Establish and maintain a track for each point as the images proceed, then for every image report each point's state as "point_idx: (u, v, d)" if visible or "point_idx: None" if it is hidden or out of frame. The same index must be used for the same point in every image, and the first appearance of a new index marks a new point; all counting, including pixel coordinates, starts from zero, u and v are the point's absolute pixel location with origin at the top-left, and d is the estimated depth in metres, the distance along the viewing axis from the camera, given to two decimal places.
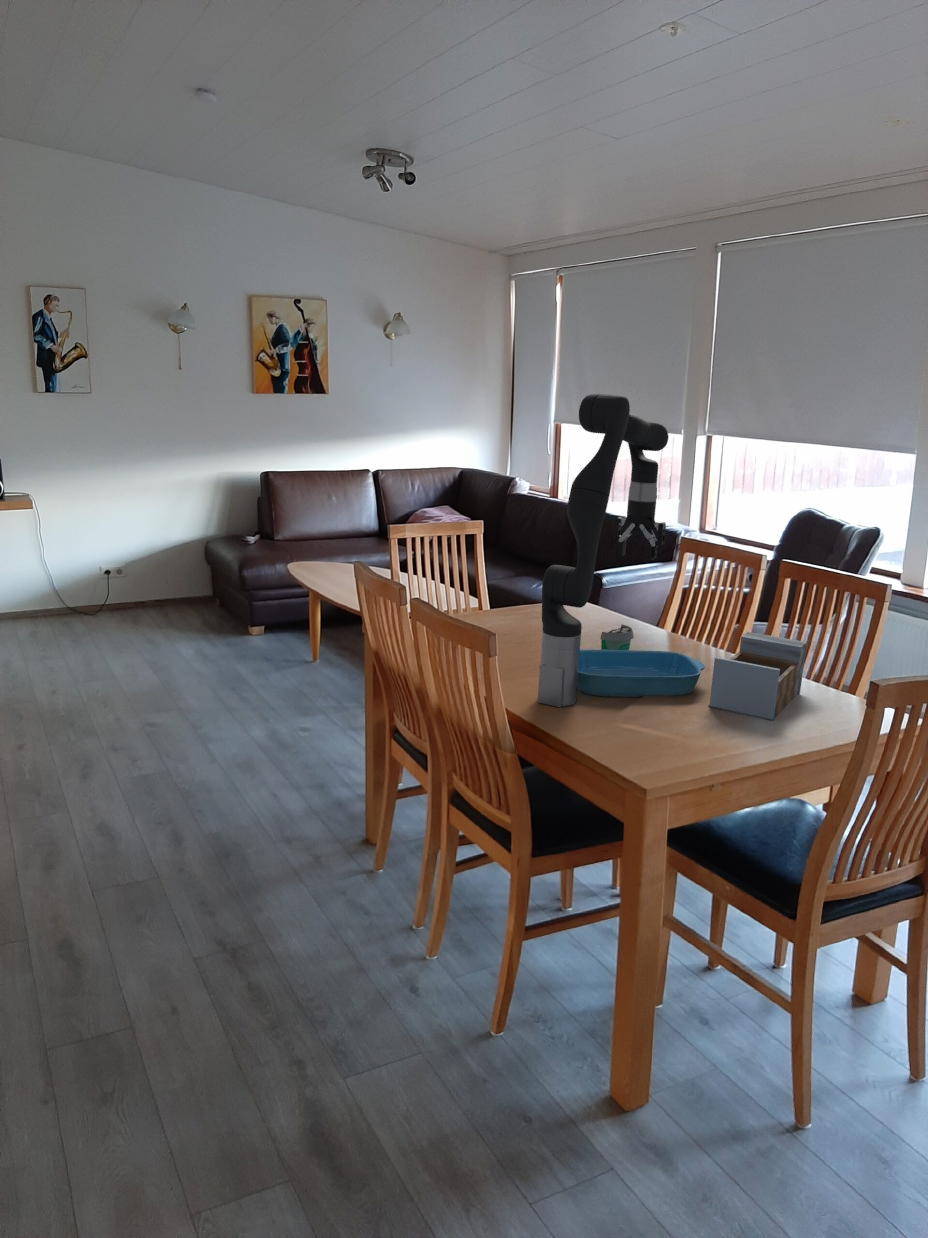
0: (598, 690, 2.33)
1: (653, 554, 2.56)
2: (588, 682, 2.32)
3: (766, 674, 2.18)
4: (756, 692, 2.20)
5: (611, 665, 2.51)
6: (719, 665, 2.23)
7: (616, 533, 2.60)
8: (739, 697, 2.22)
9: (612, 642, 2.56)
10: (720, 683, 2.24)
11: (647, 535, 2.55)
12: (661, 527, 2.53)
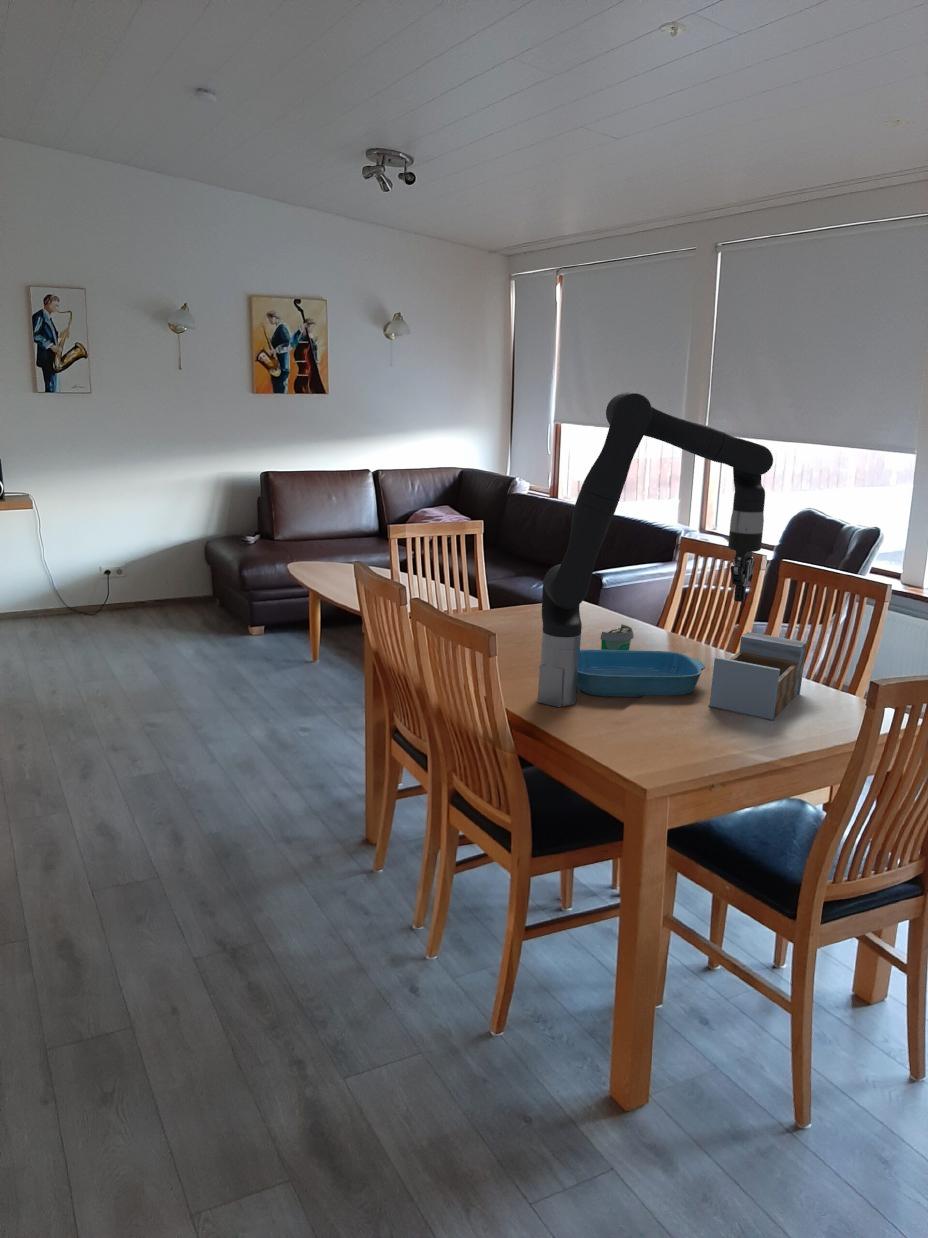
0: (598, 690, 2.33)
1: None
2: (588, 682, 2.32)
3: (766, 674, 2.18)
4: (756, 692, 2.20)
5: (611, 665, 2.51)
6: (719, 665, 2.23)
7: (743, 579, 2.22)
8: (739, 697, 2.22)
9: (612, 642, 2.56)
10: (720, 683, 2.24)
11: (750, 571, 2.25)
12: (753, 565, 2.29)
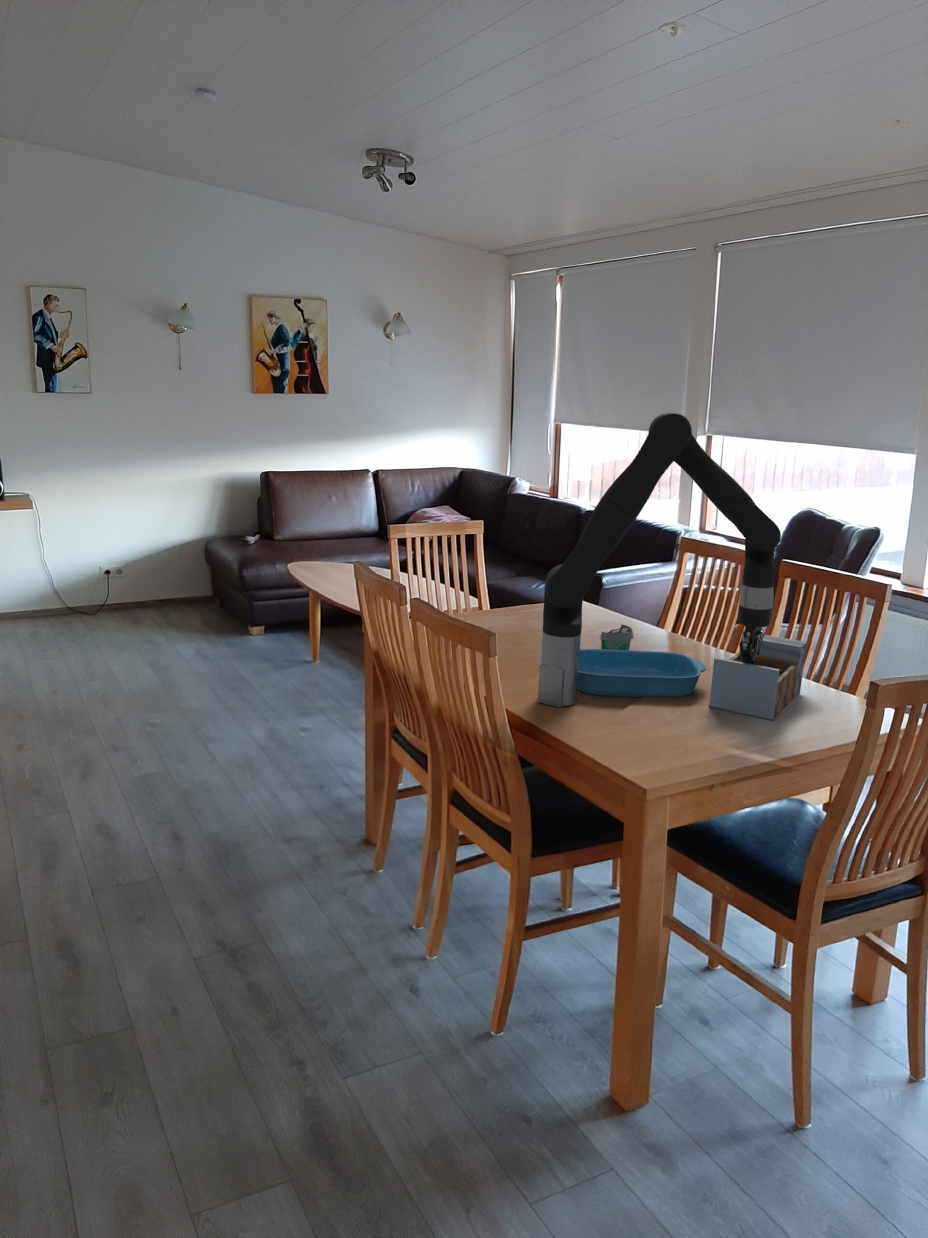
0: (595, 689, 2.33)
1: None
2: (585, 681, 2.33)
3: (765, 674, 2.17)
4: (756, 692, 2.20)
5: (614, 665, 2.51)
6: (719, 665, 2.23)
7: (752, 654, 2.19)
8: (739, 697, 2.22)
9: (612, 642, 2.56)
10: (720, 683, 2.24)
11: (759, 645, 2.22)
12: (762, 637, 2.25)
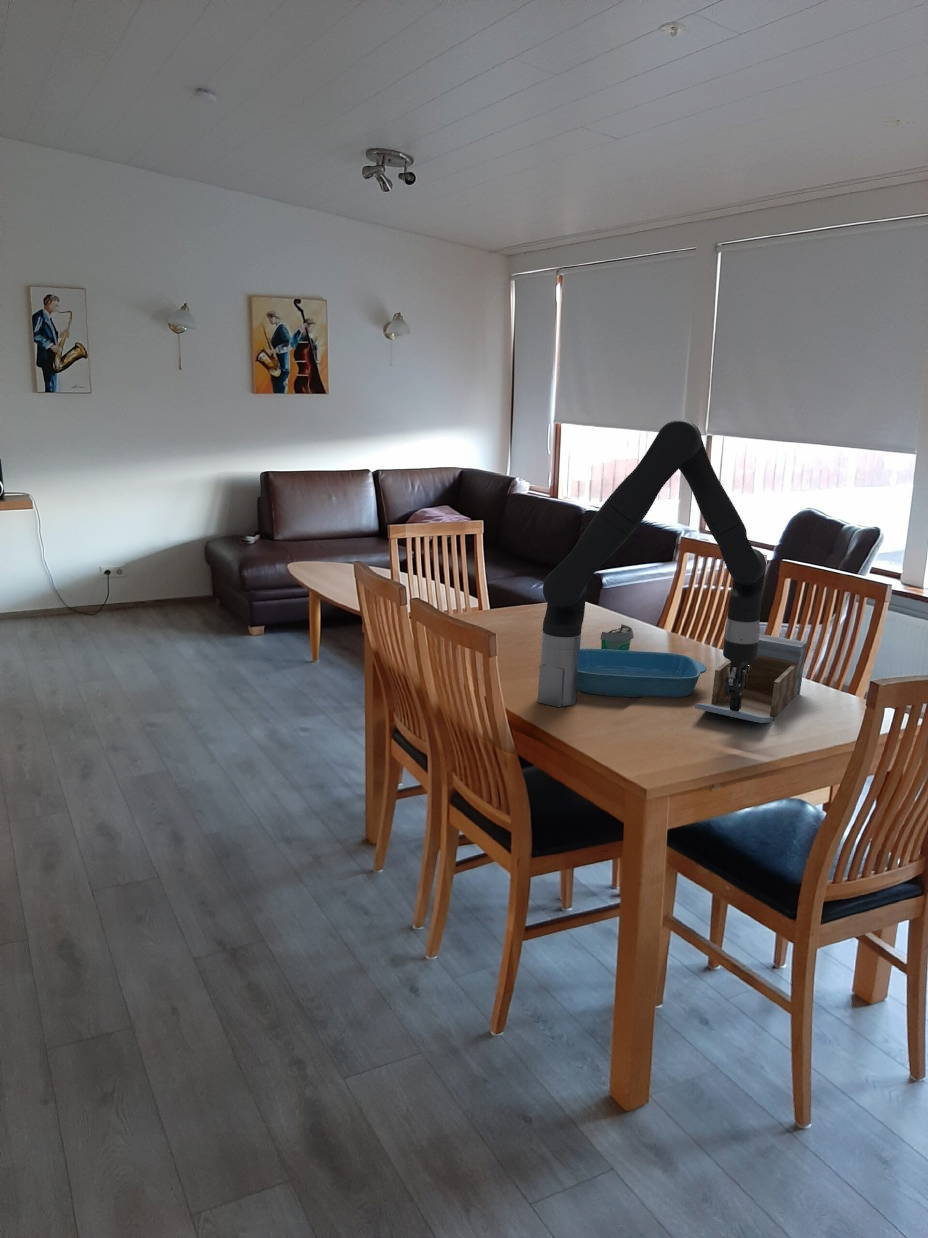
0: (593, 688, 2.34)
1: None
2: (583, 680, 2.34)
3: None
4: None
5: (616, 665, 2.51)
6: None
7: (738, 689, 2.12)
8: None
9: (612, 642, 2.56)
10: None
11: (746, 680, 2.15)
12: (749, 671, 2.18)
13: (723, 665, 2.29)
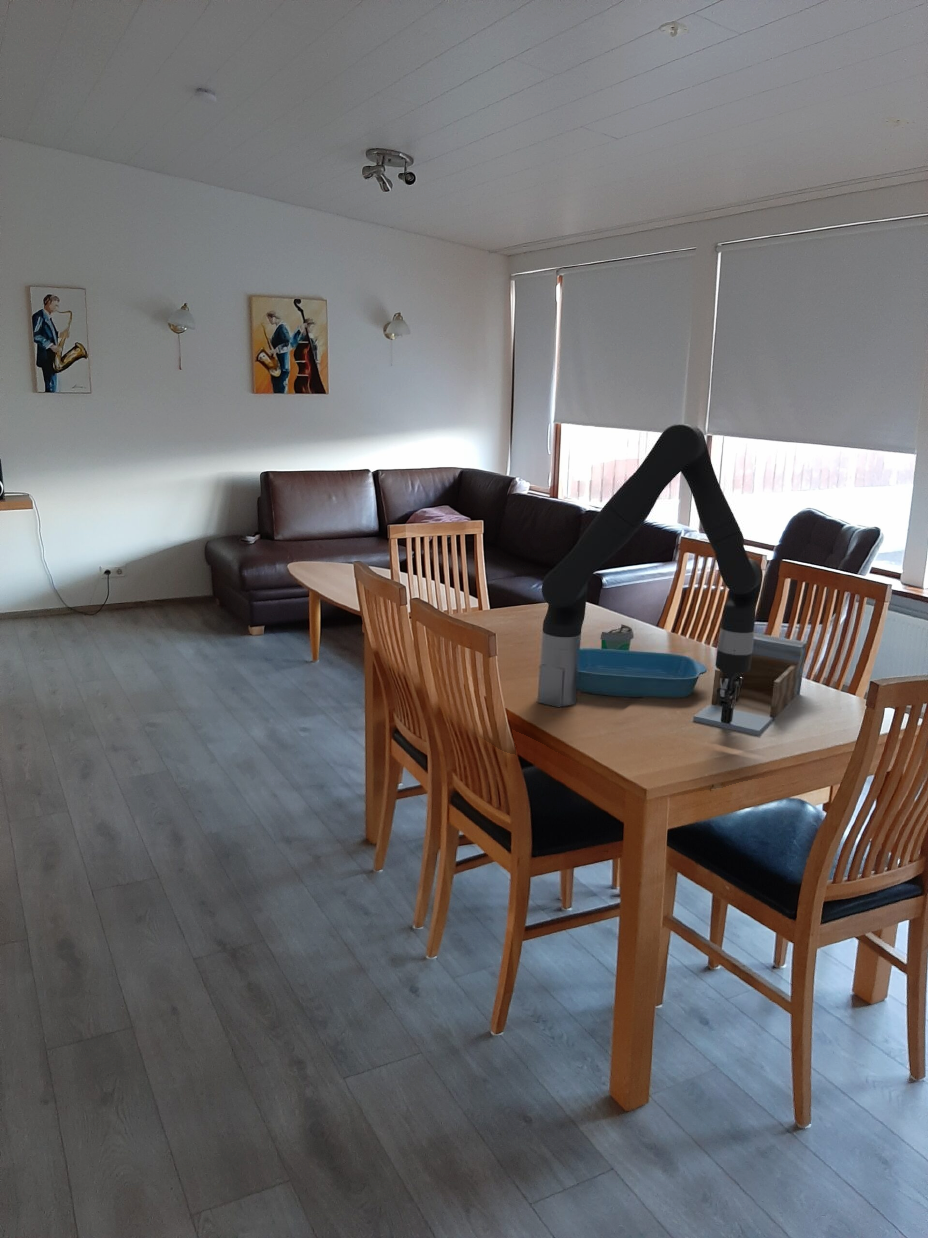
0: (591, 688, 2.34)
1: None
2: (581, 679, 2.34)
3: None
4: None
5: (617, 665, 2.51)
6: None
7: (730, 701, 2.09)
8: None
9: (612, 642, 2.56)
10: None
11: (738, 692, 2.11)
12: (742, 683, 2.15)
13: None
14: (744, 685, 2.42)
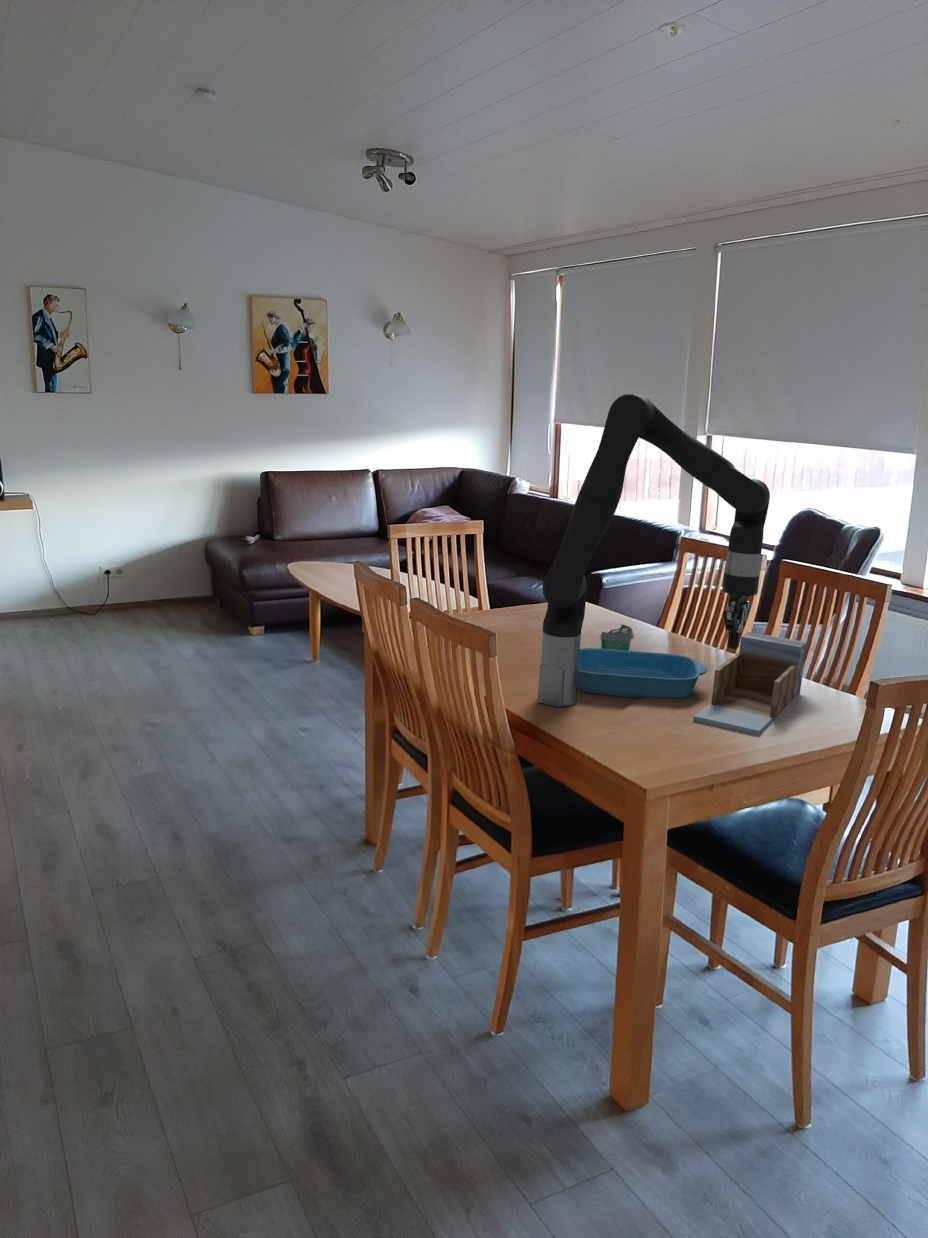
0: (590, 687, 2.35)
1: None
2: (580, 679, 2.35)
3: None
4: None
5: (618, 665, 2.51)
6: None
7: (737, 625, 2.06)
8: None
9: (612, 642, 2.56)
10: None
11: (745, 617, 2.09)
12: (749, 609, 2.12)
13: (723, 665, 2.29)
14: (744, 685, 2.42)
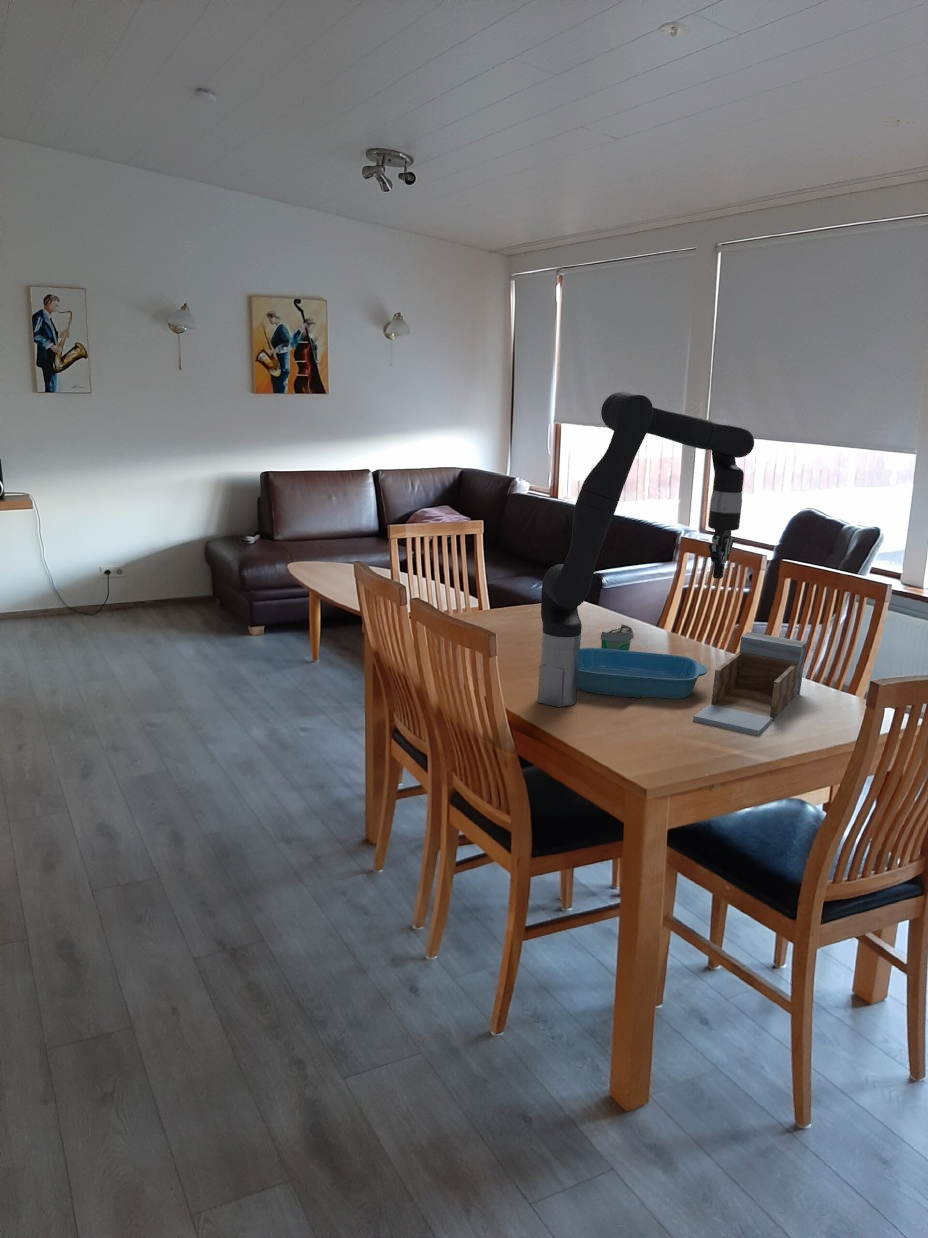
0: (588, 687, 2.35)
1: None
2: (578, 678, 2.35)
3: None
4: None
5: (620, 665, 2.51)
6: None
7: (721, 556, 2.33)
8: None
9: (612, 642, 2.56)
10: None
11: (728, 550, 2.36)
12: (732, 544, 2.39)
13: (723, 665, 2.29)
14: (744, 685, 2.42)
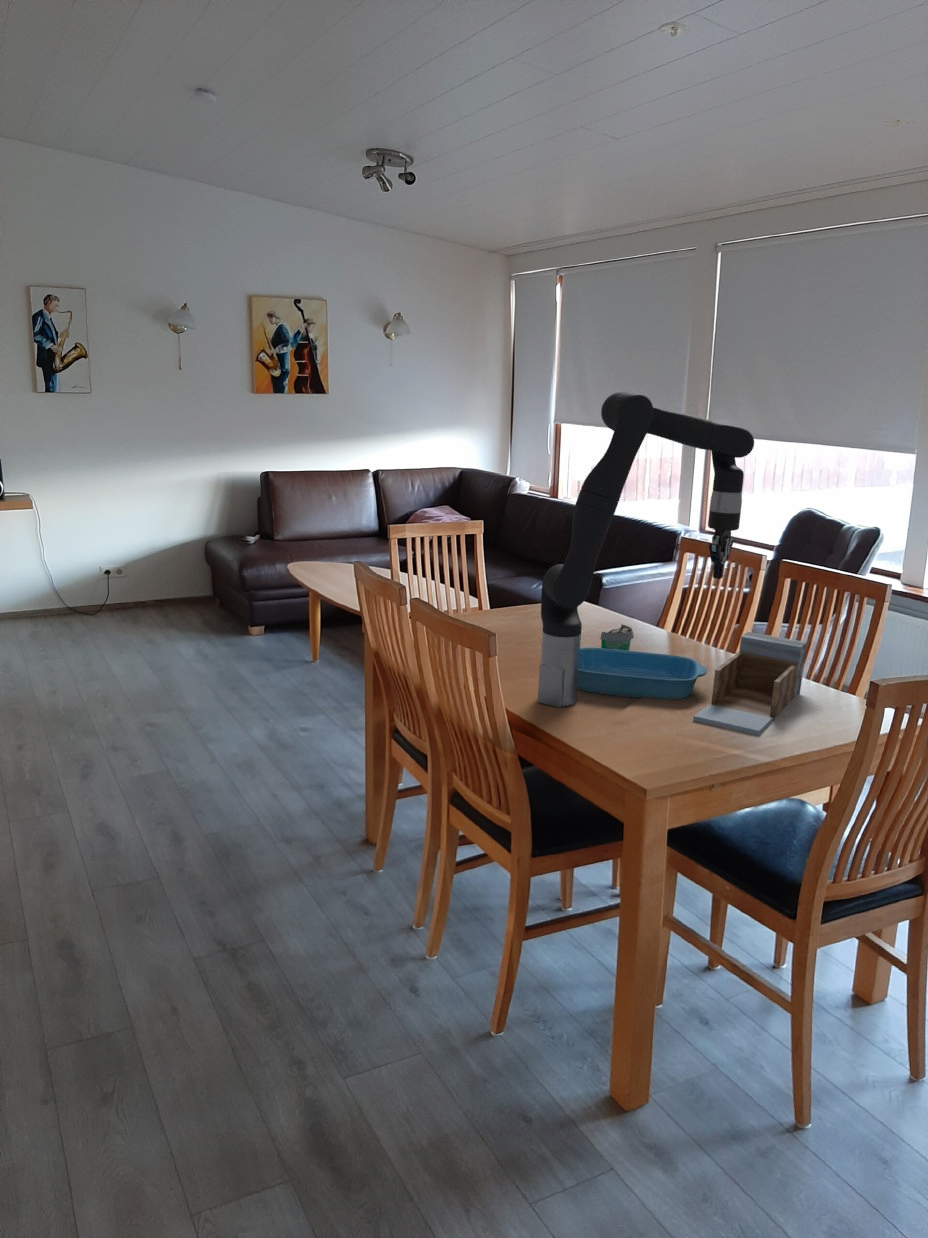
0: (587, 686, 2.35)
1: None
2: None
3: None
4: None
5: (621, 665, 2.51)
6: None
7: (721, 556, 2.33)
8: None
9: (612, 642, 2.56)
10: None
11: (728, 550, 2.36)
12: (732, 544, 2.39)
13: (723, 665, 2.29)
14: (744, 685, 2.42)
